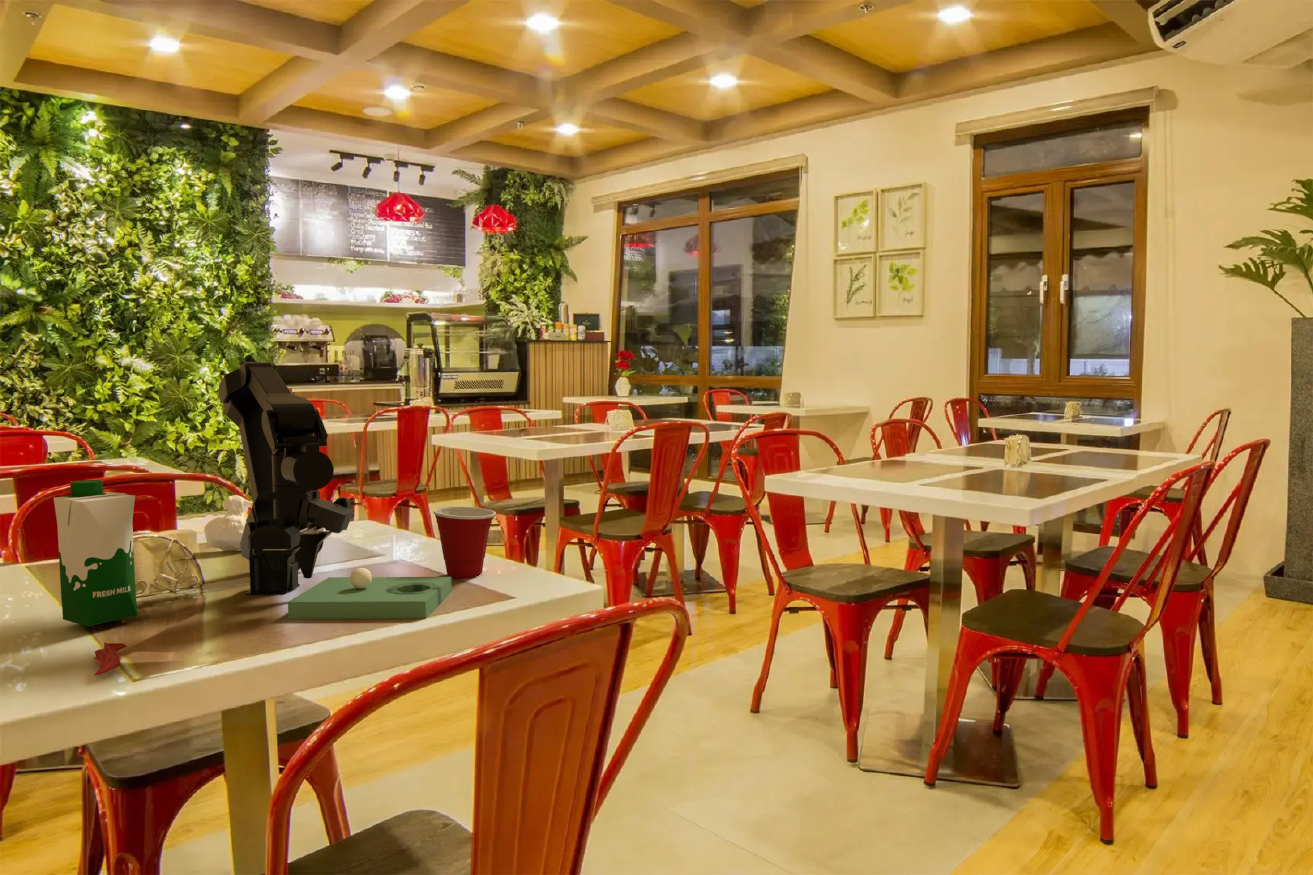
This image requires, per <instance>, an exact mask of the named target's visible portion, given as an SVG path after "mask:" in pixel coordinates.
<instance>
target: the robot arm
mask: <svg viewBox="0 0 1313 875" xmlns="http://www.w3.org/2000/svg"><path fill="white" fill-rule="evenodd" d="M218 398H219V402H220V404H223V408H224V412H225V416H226V417H227V418H228V419H229V420H230V421H231V422H232V423H233V424H234V425H236V426H237V427H238V429H239V436H240V439H241V445H242V450H243V455H244V461H245V465H246V471H247V475H248V480H249V486H250V492H251V496H252V505H251V507H250V511H249V513H248V515H247V516H246V517H247V519H246V524H245V528H244V531H243V535H242V539H241V542H240V547H241V550H240V554H241V557H242V558H244V559H246V560H248V562H249V563H248V564H249V567H248V568H249V590H248V591H247V592H245V596H284V595H287V594H289V593H290V592H292V591H294V590H296V589H297V588H300V587H301V586H300V585H301V584H299V570H298V563H297V562H295V554H296V556H297V559H298V562H299V565H300V570H301V573H302V576H303V578H304V579H311V578H313V575H314V570H315V566H316V562H317V558H318V554H319V553H318V551H319V548H320V545H321V543H322V542H323V543H324V541H325V540H327V538H328V537H329V536H331V534H332V533H334V534H341V533H342V532H343V531H347V530H348V527H349V525H350V521H351V520H352V519H353V518H354V517H355V513H354V508H353V507H352V501H351V498H348V497H345V496H339V497H338V498H337V499H335V500H334V501H332V500H328V501H327V500H324V499H322V498H321V492H320V491H319V490H321V489H324V488H325V487H326V486H327V485H328V484H329V483H330V482H331V481H332V479H333V476H334V473H335V469H334V465H333V462H332V460H331V459H330V457H329V456H328V455H327V454H325V453H324V452H321V451H320V447H321V448H322V447H327V445H328V442H327V440H328V437H329V434H328V432H327V429H326V427H325V424H324V422H323V419H322V416H321V415H320V413H319V411H318V409H317V408H316V407H315V405H314V404H313V402H311V401H310V400H308V399H307V398H306V397H302V396H299V395H295V394H293V393H292V392H291V390H290V388H289V387H288V386H287V385H286V383H285V382H284V381H283V379H282V377H281V376H280V375H279V374H278V371H277V366H276V364H275V363H271V362H270V361H246V362H245V363H241V365H240V366H239V368H237V369H235V370H233V371H230V372H228V373H226V374H224V375H223V377H222V379H221V380H220V382H219V385H218Z"/></svg>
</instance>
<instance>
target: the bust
mask: <svg viewBox="0 0 1313 875" xmlns="http://www.w3.org/2000/svg"><path fill="white" fill-rule="evenodd" d="M222 504H223V510H224V511H225V510H226V514H224V517H221V516H218V517H216V518H213V519H211V520H210V521H209V522H207V523H206V524H205V525H204V527H203V528H204V529H203V530H204V534H205V540H206V544H207V546H208V547H210V548H214V549H219V550H221V551H224V552H226V551H241V547H240V542H241V539H242V535H243V531H244V528H245V524H246V519H247V517H248V516H246V517H245V516H244V515H245V514H247V513H248V512H249V508H251V506H252V505H253V501H250V500H248V499H245V497H242V496H240V495H238V494H235V495H229V496H227V498H226V499H225V500H224V501H223V502H222Z"/></svg>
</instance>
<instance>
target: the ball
mask: <svg viewBox="0 0 1313 875" xmlns="http://www.w3.org/2000/svg"><path fill="white" fill-rule="evenodd" d="M349 577H350V582H351V584H352V585H353V586H354V587H355V588H357V589H364V588H366V587H368V586H369V585H370V583H371V581H372V577H373V575H372V573H371V571H370V570H368V569H367V568H365V567H358V568H356V569H354V570H353V571H352V572H351V574H350V576H349Z"/></svg>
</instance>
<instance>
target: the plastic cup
mask: <svg viewBox="0 0 1313 875" xmlns="http://www.w3.org/2000/svg"><path fill="white" fill-rule="evenodd" d="M432 513H433V515H435V520H436V524H437V529H438V534H439V538H440V544H441V551H442V555H443V560H444V564H445V565H444V566H445V569H446V575H447V577H451V580H452V579H453V580H465V579H464V578H470V579H475V578H477V577H476V576H478V577H480V576H481V575H482V573H483V570H484V569H483V568H484V560H485V558H486V551H487V544H488V539H489V532H490V529H491V526H492V523H493V519H494V517H496V514H497V513H496V511H494V510H493V509H488V508H483V507H482V508H481V507H473V506H442V507H437V508H435V509H433V511H432ZM480 574H481V575H480ZM479 575H480V576H479ZM474 577H475V578H474Z"/></svg>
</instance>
